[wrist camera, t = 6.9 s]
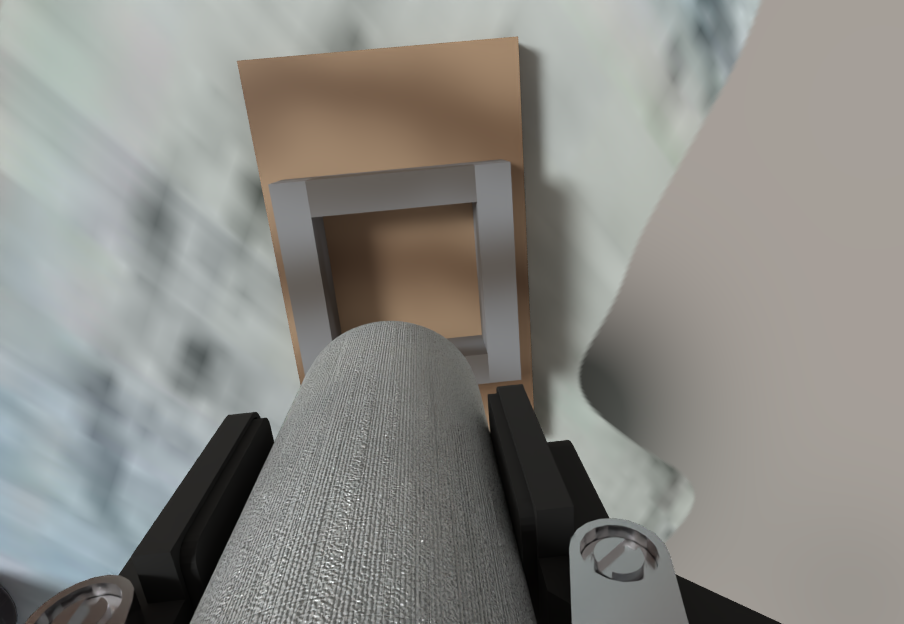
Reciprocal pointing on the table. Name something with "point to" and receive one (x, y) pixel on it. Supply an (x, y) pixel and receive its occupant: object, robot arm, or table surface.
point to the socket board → (399, 196)
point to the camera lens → (7, 608)
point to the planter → (376, 498)
